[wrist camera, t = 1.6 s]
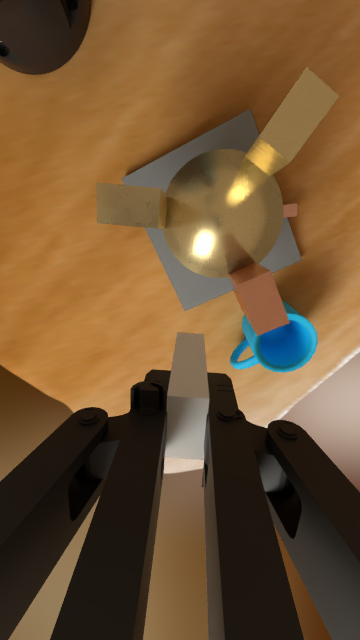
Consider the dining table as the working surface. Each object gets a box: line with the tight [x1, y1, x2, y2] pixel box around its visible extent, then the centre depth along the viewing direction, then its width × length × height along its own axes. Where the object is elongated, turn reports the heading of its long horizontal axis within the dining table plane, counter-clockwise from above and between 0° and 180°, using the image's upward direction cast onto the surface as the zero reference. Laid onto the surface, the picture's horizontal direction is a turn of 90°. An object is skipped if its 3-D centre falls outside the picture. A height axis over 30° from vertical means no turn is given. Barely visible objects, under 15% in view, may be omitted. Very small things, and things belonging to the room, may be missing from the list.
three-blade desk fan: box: [97, 67, 339, 336], centre depth 27 cm, size 17×20×9 cm
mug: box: [230, 301, 318, 372], centre depth 41 cm, size 12×8×8 cm
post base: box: [122, 109, 302, 311], centre depth 35 cm, size 20×20×9 cm
